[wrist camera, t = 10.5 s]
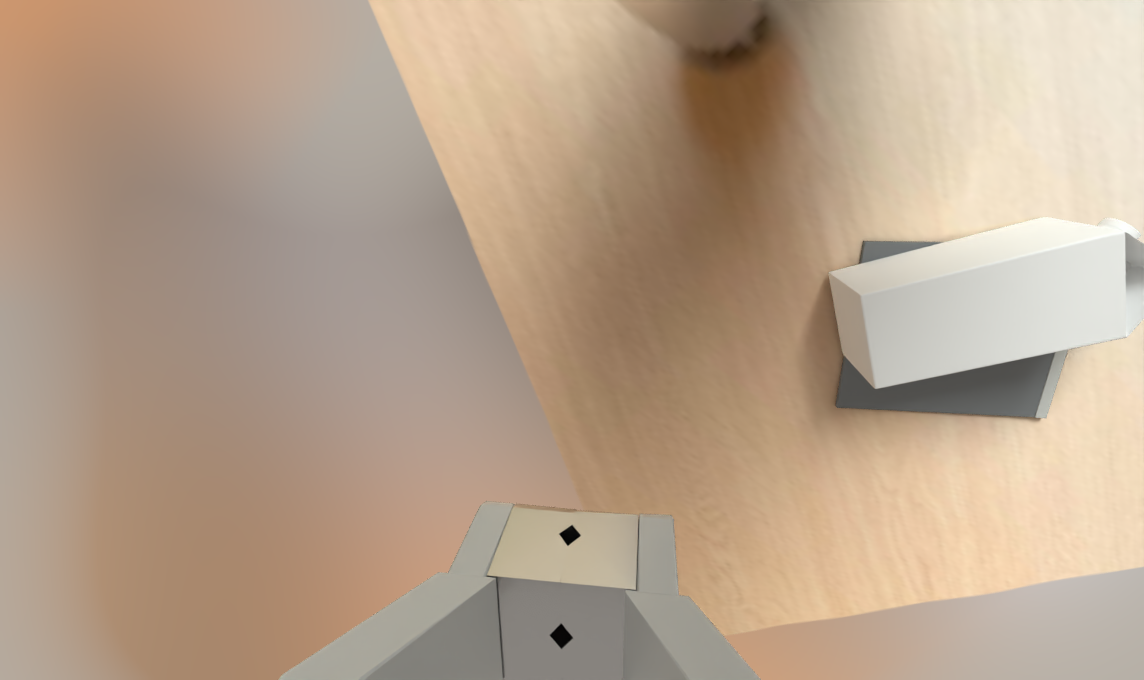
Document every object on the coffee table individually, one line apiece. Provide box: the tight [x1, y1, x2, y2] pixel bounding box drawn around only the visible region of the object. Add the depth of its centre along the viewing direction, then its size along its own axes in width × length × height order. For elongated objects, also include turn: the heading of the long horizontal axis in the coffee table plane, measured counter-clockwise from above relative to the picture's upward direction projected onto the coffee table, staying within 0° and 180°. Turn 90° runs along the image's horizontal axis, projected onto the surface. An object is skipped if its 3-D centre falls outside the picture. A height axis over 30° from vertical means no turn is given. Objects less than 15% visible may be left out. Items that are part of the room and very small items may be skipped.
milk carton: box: [828, 217, 1144, 389], centre depth 38 cm, size 7×7×19 cm
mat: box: [836, 241, 1068, 418], centre depth 42 cm, size 14×16×1 cm
